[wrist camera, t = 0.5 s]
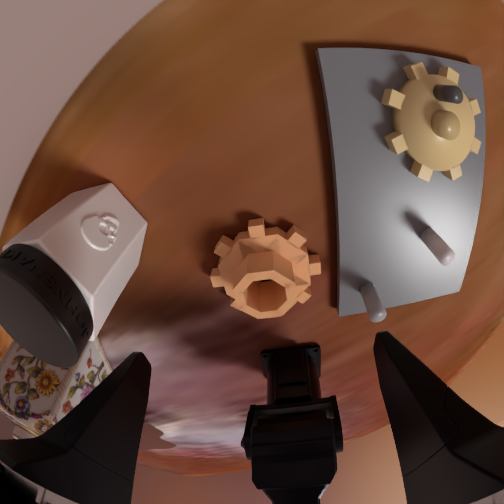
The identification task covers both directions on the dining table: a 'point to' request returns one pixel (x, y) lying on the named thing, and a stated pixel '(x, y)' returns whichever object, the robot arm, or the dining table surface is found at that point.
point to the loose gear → (265, 269)
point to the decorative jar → (46, 387)
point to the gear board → (402, 173)
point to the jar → (69, 272)
